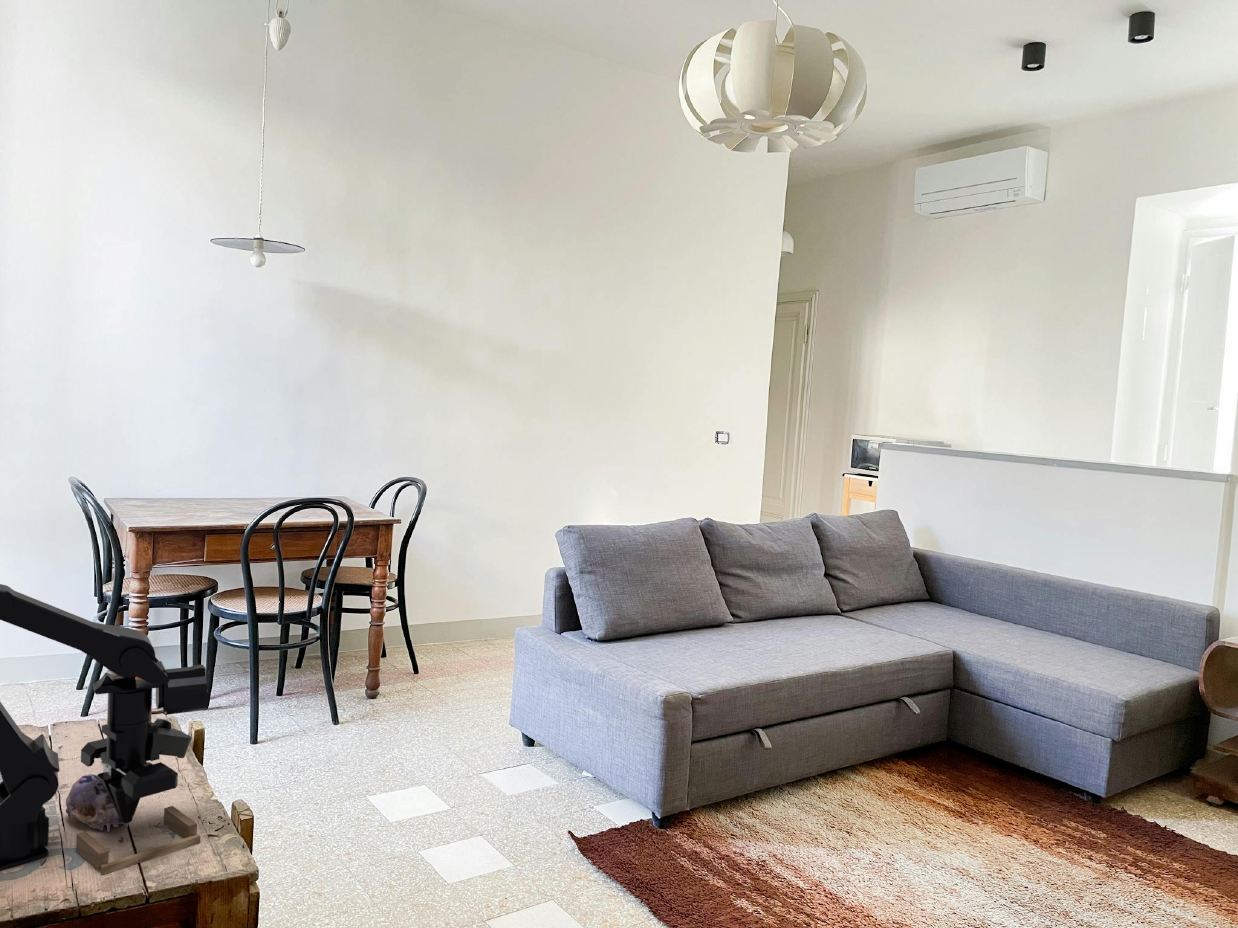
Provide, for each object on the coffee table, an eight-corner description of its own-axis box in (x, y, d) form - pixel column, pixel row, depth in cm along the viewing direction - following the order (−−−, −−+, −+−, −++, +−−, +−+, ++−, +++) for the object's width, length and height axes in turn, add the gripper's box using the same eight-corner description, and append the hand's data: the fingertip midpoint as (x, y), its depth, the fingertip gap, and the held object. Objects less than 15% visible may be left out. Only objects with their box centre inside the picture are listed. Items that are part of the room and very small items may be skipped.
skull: (141, 828, 138) (143, 788, 138) (85, 844, 132) (87, 803, 132) (111, 802, 146) (113, 764, 145) (57, 816, 140) (58, 776, 140)
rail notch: (102, 874, 124) (102, 856, 124) (75, 850, 130) (76, 833, 130) (200, 842, 134) (201, 825, 134) (171, 821, 140) (172, 805, 140)
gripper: (215, 722, 134) (211, 825, 135) (156, 691, 146) (153, 787, 147) (136, 741, 126) (133, 851, 127) (80, 706, 137) (78, 808, 138)
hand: (126, 821), depth 135 cm, fingers closed
